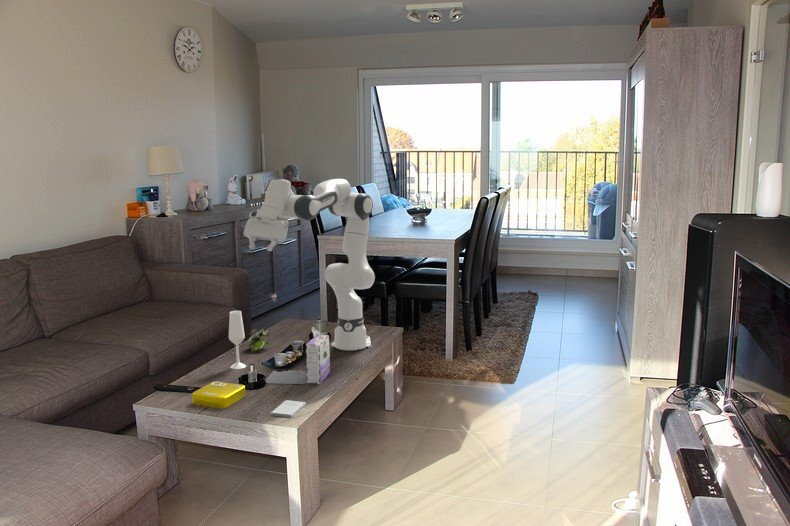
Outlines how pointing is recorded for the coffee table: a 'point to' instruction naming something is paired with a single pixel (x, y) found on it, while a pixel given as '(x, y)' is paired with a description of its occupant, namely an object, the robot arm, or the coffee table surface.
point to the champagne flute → (236, 335)
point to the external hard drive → (288, 408)
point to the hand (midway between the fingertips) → (260, 249)
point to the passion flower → (258, 339)
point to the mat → (287, 377)
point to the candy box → (318, 359)
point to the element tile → (218, 394)
